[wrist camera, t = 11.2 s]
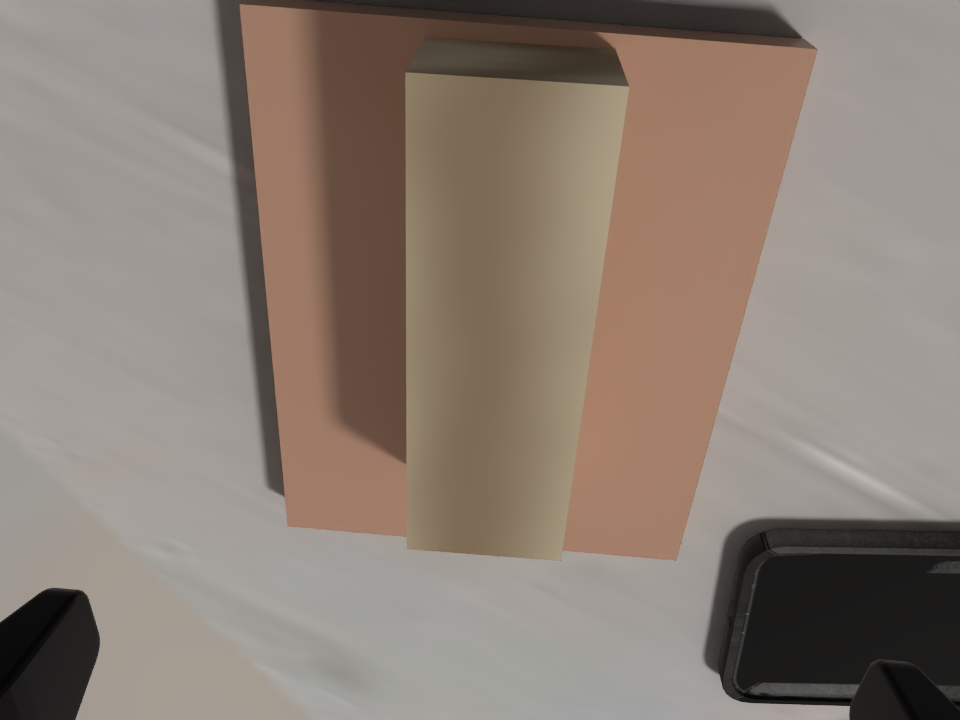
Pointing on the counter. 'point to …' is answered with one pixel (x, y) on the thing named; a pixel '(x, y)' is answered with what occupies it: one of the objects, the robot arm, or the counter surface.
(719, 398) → the terracotta tile
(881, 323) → the counter surface
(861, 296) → the counter surface
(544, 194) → the maple bar
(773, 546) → the phone
